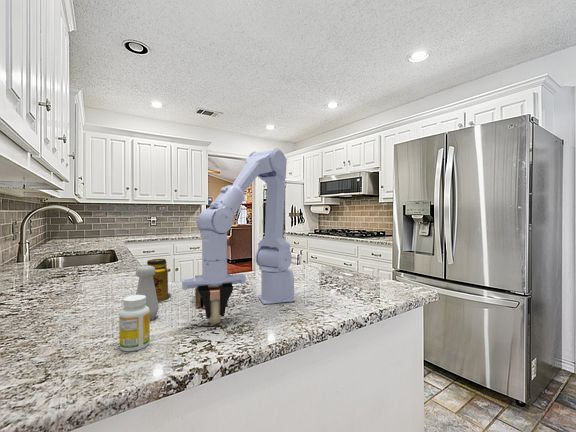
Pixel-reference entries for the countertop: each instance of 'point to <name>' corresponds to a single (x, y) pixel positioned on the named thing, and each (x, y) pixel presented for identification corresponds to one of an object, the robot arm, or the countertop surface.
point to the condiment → (160, 279)
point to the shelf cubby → (197, 295)
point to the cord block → (214, 306)
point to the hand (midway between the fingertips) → (215, 316)
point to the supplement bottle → (134, 323)
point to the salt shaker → (148, 288)
